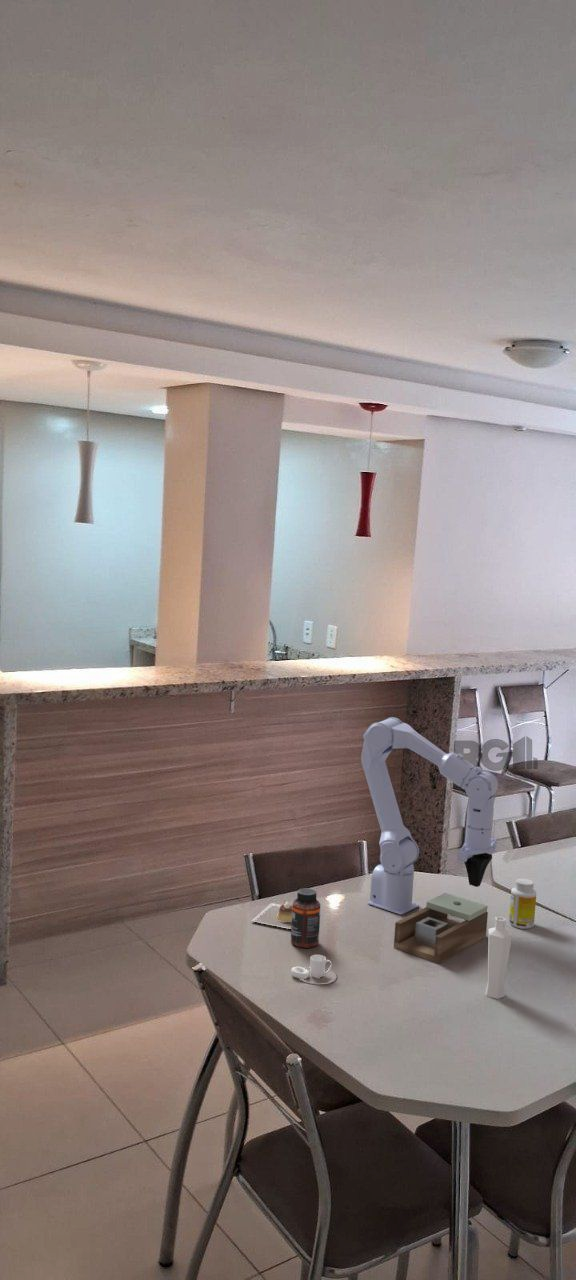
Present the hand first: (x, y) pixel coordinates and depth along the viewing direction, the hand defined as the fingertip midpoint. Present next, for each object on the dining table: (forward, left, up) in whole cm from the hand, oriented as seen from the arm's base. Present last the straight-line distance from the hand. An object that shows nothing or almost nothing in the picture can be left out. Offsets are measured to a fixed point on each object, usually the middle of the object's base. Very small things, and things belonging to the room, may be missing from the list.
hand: (474, 885), depth 224 cm
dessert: (-31, -28, -10) cm, 43 cm away
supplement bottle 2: (+8, +8, -10) cm, 15 cm away
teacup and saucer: (-12, -45, -10) cm, 48 cm away
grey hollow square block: (0, -18, -8) cm, 19 cm away
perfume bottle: (+20, -28, -10) cm, 35 cm away
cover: (0, -7, -4) cm, 8 cm away
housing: (0, -14, -9) cm, 16 cm away
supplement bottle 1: (-20, -36, -10) cm, 42 cm away
